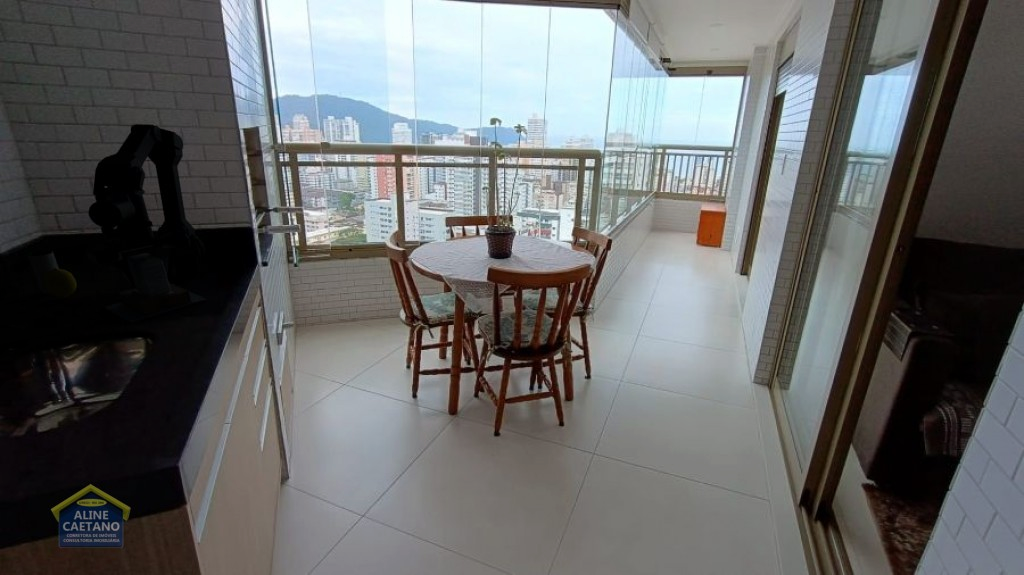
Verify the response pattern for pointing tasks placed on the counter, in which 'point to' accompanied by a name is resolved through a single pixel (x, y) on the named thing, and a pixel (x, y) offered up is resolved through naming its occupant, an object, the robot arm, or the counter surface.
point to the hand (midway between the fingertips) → (150, 280)
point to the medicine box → (148, 274)
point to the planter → (42, 266)
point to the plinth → (154, 300)
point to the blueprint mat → (135, 316)
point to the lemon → (60, 282)
